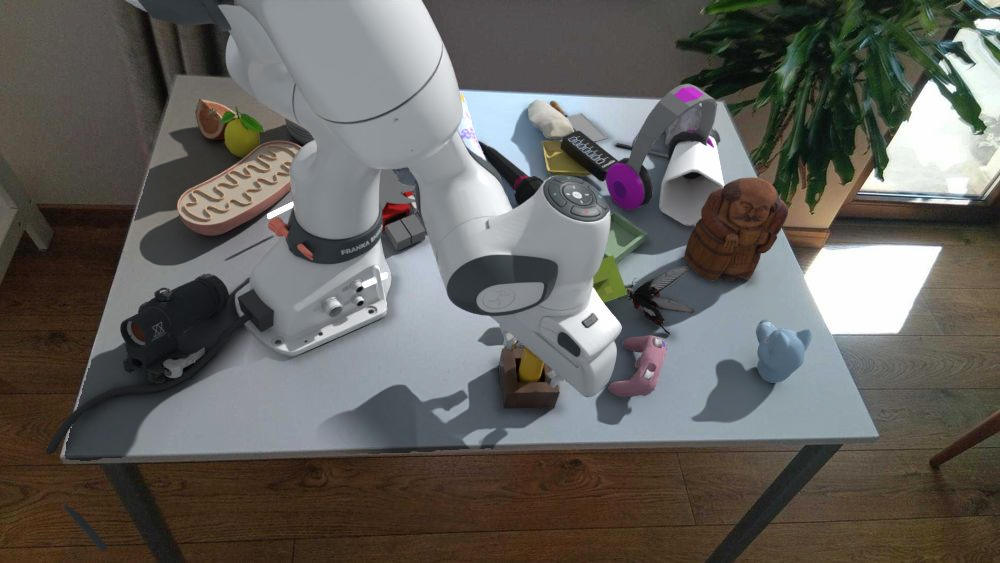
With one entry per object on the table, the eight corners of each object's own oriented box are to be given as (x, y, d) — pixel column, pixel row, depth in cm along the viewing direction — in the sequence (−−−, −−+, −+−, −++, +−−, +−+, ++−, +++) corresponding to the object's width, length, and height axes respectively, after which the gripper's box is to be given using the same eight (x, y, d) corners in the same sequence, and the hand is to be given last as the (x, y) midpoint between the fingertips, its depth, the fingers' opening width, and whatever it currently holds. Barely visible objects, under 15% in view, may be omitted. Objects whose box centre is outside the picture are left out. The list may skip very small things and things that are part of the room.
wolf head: (767, 339, 107) (796, 297, 100) (795, 388, 102) (827, 348, 94) (730, 343, 106) (756, 301, 99) (756, 393, 101) (786, 353, 93)
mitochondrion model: (281, 156, 121) (278, 133, 118) (325, 182, 119) (323, 159, 115) (170, 228, 108) (163, 204, 104) (217, 260, 105) (211, 236, 101)
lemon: (269, 164, 119) (261, 115, 112) (234, 172, 117) (223, 122, 110) (259, 140, 123) (250, 91, 116) (224, 147, 121) (213, 98, 113)
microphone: (470, 161, 131) (529, 220, 119) (462, 138, 127) (522, 197, 114) (494, 146, 132) (555, 204, 120) (487, 123, 128) (550, 180, 115)
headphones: (631, 223, 120) (665, 127, 105) (596, 193, 125) (624, 96, 110) (709, 181, 130) (751, 88, 115) (675, 155, 134) (710, 62, 119)
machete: (687, 159, 135) (688, 157, 134) (687, 163, 134) (688, 162, 133) (616, 142, 135) (617, 141, 135) (615, 147, 134) (616, 145, 134)
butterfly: (652, 322, 112) (710, 298, 107) (645, 353, 105) (707, 329, 100) (615, 269, 109) (672, 241, 104) (606, 297, 103) (666, 269, 97)
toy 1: (439, 238, 115) (394, 172, 120) (442, 218, 110) (395, 151, 116) (365, 270, 110) (321, 200, 115) (364, 251, 105) (319, 179, 110)
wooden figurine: (686, 279, 114) (726, 196, 100) (679, 250, 118) (717, 166, 104) (757, 284, 115) (806, 203, 101) (748, 255, 119) (794, 173, 105)
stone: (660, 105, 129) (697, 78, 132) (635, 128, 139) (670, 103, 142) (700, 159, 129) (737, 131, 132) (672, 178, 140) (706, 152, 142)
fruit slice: (193, 127, 124) (183, 105, 120) (227, 109, 127) (218, 87, 123) (218, 153, 121) (208, 131, 117) (252, 134, 123) (244, 112, 119)
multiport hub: (576, 139, 130) (579, 129, 129) (618, 173, 125) (622, 163, 124) (559, 147, 128) (561, 137, 126) (601, 182, 123) (604, 172, 122)
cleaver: (608, 135, 135) (588, 141, 133) (607, 140, 136) (586, 147, 134) (568, 94, 141) (548, 100, 139) (567, 99, 142) (547, 105, 140)
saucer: (545, 179, 125) (547, 170, 124) (539, 148, 131) (541, 139, 129) (592, 181, 126) (595, 172, 125) (585, 150, 132) (587, 141, 130)
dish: (610, 268, 113) (613, 259, 112) (576, 243, 116) (578, 234, 114) (643, 242, 118) (647, 233, 116) (610, 218, 121) (613, 209, 119)
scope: (240, 337, 99) (237, 273, 95) (165, 386, 87) (158, 315, 83) (193, 322, 101) (188, 258, 97) (113, 368, 89) (103, 297, 85)
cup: (739, 143, 128) (738, 194, 115) (703, 182, 135) (699, 234, 122) (687, 111, 127) (681, 159, 114) (654, 152, 133) (645, 202, 121)
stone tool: (543, 126, 126) (518, 91, 137) (538, 144, 128) (514, 108, 139) (586, 130, 129) (558, 96, 140) (580, 148, 131) (553, 112, 142)
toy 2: (504, 289, 107) (593, 258, 110) (520, 332, 107) (609, 300, 110) (517, 279, 97) (615, 246, 100) (535, 328, 97) (632, 292, 100)
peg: (526, 399, 95) (537, 361, 89) (510, 385, 97) (519, 346, 90) (541, 387, 97) (552, 348, 90) (525, 373, 98) (535, 334, 91)
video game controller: (628, 410, 98) (663, 394, 93) (604, 391, 97) (638, 374, 92) (643, 356, 104) (677, 338, 99) (620, 338, 103) (653, 319, 98)
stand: (502, 408, 94) (506, 392, 91) (498, 364, 99) (502, 348, 96) (554, 408, 95) (560, 392, 92) (547, 364, 100) (552, 348, 97)
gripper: (468, 257, 85) (459, 327, 95) (599, 365, 77) (574, 429, 87) (504, 234, 88) (492, 304, 98) (634, 335, 80) (605, 399, 90)
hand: (531, 363), depth 93 cm, fingers open, 6 cm apart
